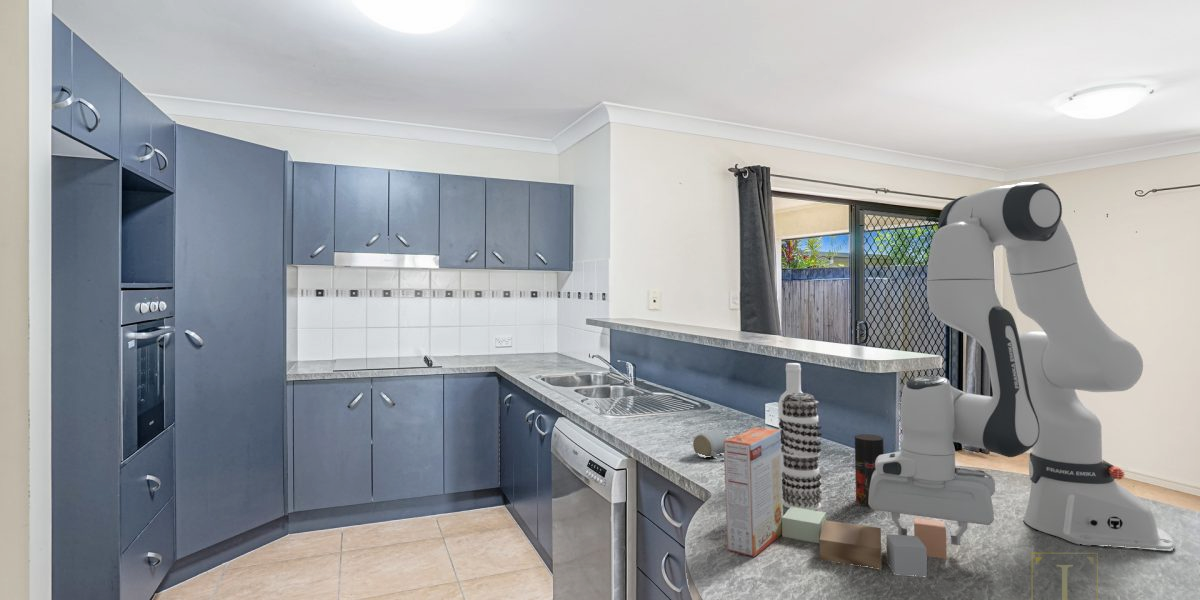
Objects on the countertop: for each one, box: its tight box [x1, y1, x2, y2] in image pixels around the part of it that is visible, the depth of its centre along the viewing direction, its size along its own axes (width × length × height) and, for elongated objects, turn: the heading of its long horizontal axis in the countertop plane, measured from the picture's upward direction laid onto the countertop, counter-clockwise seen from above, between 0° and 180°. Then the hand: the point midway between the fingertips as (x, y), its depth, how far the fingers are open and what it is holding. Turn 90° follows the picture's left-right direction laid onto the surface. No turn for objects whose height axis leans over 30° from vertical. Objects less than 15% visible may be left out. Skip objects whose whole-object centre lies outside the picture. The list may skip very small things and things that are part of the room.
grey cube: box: [885, 533, 928, 578], centre depth 103 cm, size 5×5×5 cm
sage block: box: [781, 507, 827, 544], centre depth 119 cm, size 7×7×4 cm
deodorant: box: [854, 433, 885, 508], centre depth 135 cm, size 6×6×15 cm
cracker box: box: [723, 426, 784, 558], centre depth 115 cm, size 14×6×21 cm, turn 141°
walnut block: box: [818, 520, 882, 570], centre depth 109 cm, size 10×10×4 cm
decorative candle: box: [778, 392, 823, 511], centre depth 135 cm, size 9×9×25 cm
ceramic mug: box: [692, 428, 728, 458], centre depth 176 cm, size 11×8×8 cm
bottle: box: [777, 362, 804, 479], centre depth 153 cm, size 8×8×30 cm
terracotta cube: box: [913, 517, 948, 559], centre depth 110 cm, size 5×5×5 cm
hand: (928, 540), depth 110 cm, fingers open, 7 cm apart
